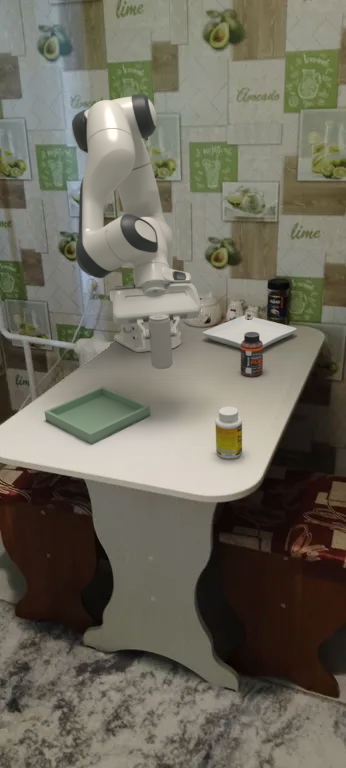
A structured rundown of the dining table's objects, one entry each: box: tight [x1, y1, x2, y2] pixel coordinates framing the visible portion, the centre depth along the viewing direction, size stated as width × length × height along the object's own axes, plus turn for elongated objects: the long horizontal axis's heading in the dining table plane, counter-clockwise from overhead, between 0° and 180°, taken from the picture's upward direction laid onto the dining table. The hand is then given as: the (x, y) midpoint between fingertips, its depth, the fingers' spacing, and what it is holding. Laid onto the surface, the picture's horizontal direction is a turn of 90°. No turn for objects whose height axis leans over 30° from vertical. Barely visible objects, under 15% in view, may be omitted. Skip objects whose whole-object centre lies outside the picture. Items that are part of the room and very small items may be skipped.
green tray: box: [44, 386, 151, 445], centre depth 156 cm, size 18×18×3 cm
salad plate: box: [202, 315, 297, 350], centre depth 199 cm, size 21×21×3 cm
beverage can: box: [149, 314, 174, 370], centre depth 147 cm, size 5×5×12 cm
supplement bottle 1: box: [215, 406, 243, 460], centre depth 137 cm, size 6×6×10 cm
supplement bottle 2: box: [240, 332, 264, 378], centre depth 174 cm, size 6×6×11 cm
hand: (160, 337), depth 146 cm, fingers closed on beverage can, 5 cm apart
